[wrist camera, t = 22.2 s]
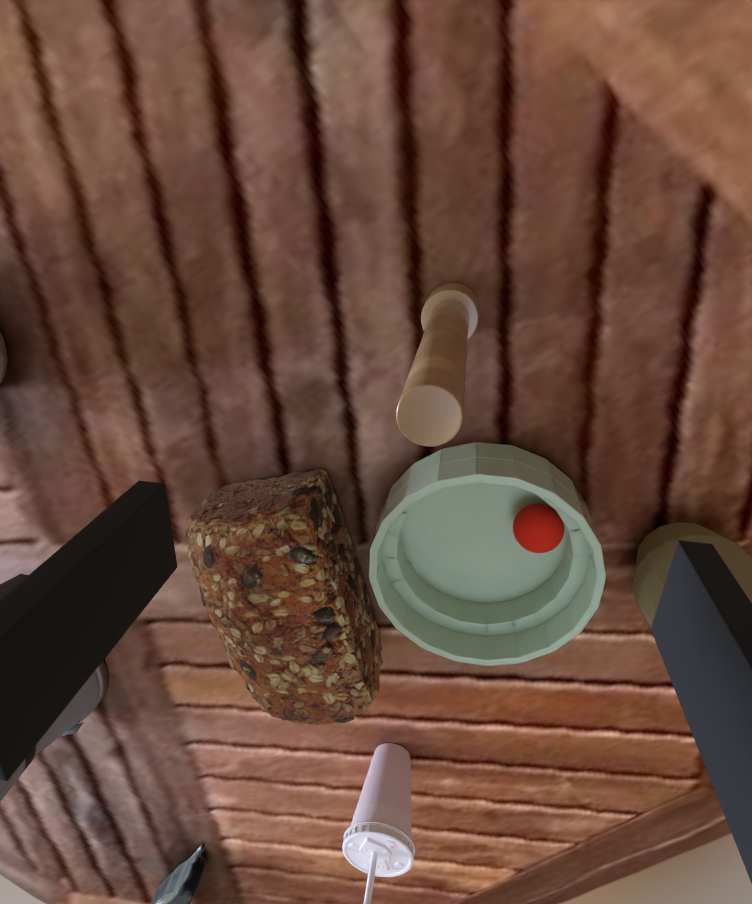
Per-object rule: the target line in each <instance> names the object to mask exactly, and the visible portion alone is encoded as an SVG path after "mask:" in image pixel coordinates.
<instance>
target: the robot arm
mask: <svg viewBox="0 0 752 904" xmlns="http://www.w3.org/2000/svg"><path fill="white" fill-rule="evenodd" d="M176 568H177V561H176V554H175V548H174V541H173V534H172V527H171V520H170V514H169V507H168V500H167V493H166V486H165V484H163V483H154V482H145V481H138V482H137V483H136V484H134V485H133V486H132V487H131V488H130V489H129V490H127V491H126V492H125V493H124V494H123V495H122V496H121V497H119V498H118V499H117V500H116V501H115V502H114V503H112V504H111V505H110V506H109V507H108V508H107V509H105V510H104V511H103V512H102V513H101V514H100V515H98V516H97V517H96V518H95V519H94V520H93V521H91V522H90V523H89V524H88V525H87V526H86V527H85V528H83V529H82V530H81V531H80V532H79V533H78V534H76V535H75V536H74V537H73V538H72V539H71V540H69V541H68V542H67V543H66V544H65V545H64V546H62V547H61V548H60V549H59V550H58V551H57V552H56V553H54V554H53V555H52V556H51V557H50V558H49V559H47V560H46V561H45V562H44V563H43V564H42V565H40V566H39V567H38V568H37V569H36V570H35V571H33V572H32V573H31V574H30V575H24V574H20V575H18V576H16V577H14V578H12V579H10V580H8V581H6V582H4V583H2V584H0V802H1V800H2V799H3V798H4V796H5V795H6V794H7V793H8V791H9V790H10V789H11V787H12V786H13V785H14V783H15V782H16V781H17V779H18V778H19V777H20V776H21V774H22V773H23V772H24V770H25V769H26V768H27V767H28V765H29V764H30V763H31V761H32V760H33V759H34V758H35V756H36V755H37V754H38V753H39V752H40V751H42V750H43V749H44V748H46V747H47V746H48V745H49V744H51V743H52V742H53V741H55V740H56V739H57V738H58V737H60V736H62V735H67V734H73V733H76V732H77V731H78V729H79V728H80V727H81V725H82V724H83V723H80V724H78V723H79V722H81V721H82V720H84V719H85V718H86V717H87V716H88V715H89V714H90V713H91V712H92V711H93V710H94V709H95V707H96V706H97V705H98V703H99V702H100V701H101V699H102V698H103V696H104V695H105V692H106V690H107V686H108V675H107V670H106V666H105V664H104V661H103V660H104V659H105V657H106V656H107V655H108V654H109V652H110V651H111V650H112V649H113V647H114V646H115V645H116V644H117V642H118V641H119V640H120V639H121V637H122V636H123V635H124V634H125V632H126V631H127V630H128V629H129V627H130V626H131V625H132V623H133V622H134V621H135V620H136V618H137V617H138V616H139V615H140V613H141V612H142V611H143V610H144V608H145V607H146V606H147V605H148V603H149V602H150V601H151V600H152V598H153V597H154V596H155V594H156V593H157V592H158V591H159V589H160V588H161V587H162V586H163V584H164V583H165V582H166V581H167V579H168V578H169V577H170V576H171V574H172V573H173V572H174V571H175V569H176ZM651 631H652V633H653V636H654V638H655V641H656V643H657V646H658V648H659V651H660V653H661V656H662V658H663V661H664V663H665V666H666V668H667V671H668V673H669V676H670V679H671V681H672V684H673V686H674V689H675V691H676V694H677V696H678V699H679V701H680V704H681V706H682V709H683V711H684V714H685V716H686V719H687V721H688V724H689V726H690V729H691V731H692V734H693V737H694V739H695V742H696V744H697V747H698V749H699V752H700V754H701V757H702V759H703V762H704V764H705V767H706V769H707V772H708V774H709V777H710V779H711V782H712V784H713V787H714V789H715V792H716V794H717V797H718V800H719V802H720V805H721V807H722V810H723V812H724V815H725V817H726V820H727V822H728V825H729V827H730V830H731V832H732V835H733V837H734V840H735V842H736V845H737V847H738V850H739V852H740V855H741V857H742V860H743V862H744V865H745V868H746V870H747V873H748V875H749V878H750V880H751V883H752V603H751V601H750V600H749V598H748V597H747V595H746V594H745V592H744V591H743V589H742V588H741V586H740V585H739V583H738V582H737V580H736V579H735V577H734V576H733V574H732V573H731V571H730V570H729V568H728V567H727V565H726V564H725V562H724V561H723V559H722V558H721V556H720V555H719V553H718V552H717V550H716V549H715V547H714V546H713V544H708V543H699V542H690V541H681V540H678V543H677V546H676V549H675V552H674V555H673V559H672V562H671V565H670V568H669V572H668V575H667V578H666V581H665V584H664V588H663V591H662V594H661V597H660V601H659V604H658V607H657V610H656V613H655V617H654V620H653V623H652V626H651Z"/></svg>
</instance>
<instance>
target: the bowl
mask: <svg viewBox="0 0 752 904" xmlns="http://www.w3.org/2000/svg"><path fill="white" fill-rule="evenodd" d="M535 503H540V504H545V505H548V506H550V507H552V508H553V509H555V510H556V511H557V513H558V515H559V516H560V518H561V520H562V521H563V523H564V535H563V538H562V540H561V542H560V543H559V545H558V546H557V547H556V548H554V549H553V550H551V551H549V552H546V553H533V552H530V551H528V550H526V549H524V548H523V547H522V546H521V545H520V544H519V543H518V542H517V540H516V538H515V536H514V533H513V522H514V519H515V516H516V515H517V513H518V512H519V511H520V510H521V509H522V508H524V507H525V506H527V505H530V504H535ZM369 580H370V583H371V586H372V589H373V591H374V594H375V597H376V600H377V603H378V605H379V607H380V609H381V610H382V611H383V612H384V614H385V615H386V616H387V618H388V619H389V620H390V621H391V623H392V624H393V625H394V627H395V628H396V629H397V630H398V631H399V632H400V633H402V634H403V635H405V636H406V637H407V638H409V639H410V640H411V641H413V642H414V643H416V644H417V645H418V646H420V647H421V648H422V649H425V650H427V651H430V652H432V653H435V654H437V655H440V656H442V657H445V658H447V659H450V660H452V661H457V662H464V663H470V664H477V665H484V666H493V665H504V664H515V663H523V662H526V661H529V660H532V659H535V658H537V657H540V656H543V655H546V654H549V653H552V652H553V651H555V650H557V649H558V648H560V647H561V646H563V645H564V644H565V643H567V642H568V641H570V640H571V639H572V638H574V637H575V636H577V635H578V634H579V633H580V632H581V631H582V630H583V628H584V627H585V626H586V624H587V623H588V621H589V620H590V619H591V617H592V616H593V615H594V613H595V612H596V610H597V609H598V607H599V604H600V600H601V596H602V592H603V588H604V584H605V580H606V572H605V566H604V559H603V553H602V547H601V544H600V541H599V538H598V535H597V532H596V530H595V527H594V524H593V521H592V518H591V515H590V512H589V510H588V507H587V505H586V503H585V502H584V500H583V498H582V497H581V495H580V493H579V492H578V490H577V488H576V486H575V485H574V483H573V481H571V479H570V478H569V477H567V476H566V475H565V474H564V473H562V472H561V471H560V470H559V469H558V468H556V467H555V466H554V465H553V464H552V463H550V462H549V461H548V460H547V459H545V458H543V457H540V456H538V455H535V454H533V453H530V452H528V451H525V450H523V449H520V448H518V447H515V446H512V445H502V444H491V443H481V442H477V443H476V442H475V443H469V444H464V445H459V446H454V447H449V448H444V449H441V450H439V451H437V452H435V453H433V454H431V455H429V456H427V457H425V458H424V459H422V460H420V461H418V462H416V463H414V464H413V465H412V466H411V467H410V468H409V469H408V470H407V471H406V472H405V473H404V474H403V475H402V476H401V477H400V478H399V479H398V481H397V482H396V483H395V484H394V485H393V486H392V487H391V489H390V492H389V494H388V496H387V499H386V501H385V503H384V506H383V508H382V510H381V513H380V516H379V520H378V523H377V526H376V530H375V533H374V536H373V540H372V543H371V546H370V555H369Z"/></svg>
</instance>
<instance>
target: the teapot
mask: <svg viewBox="0 0 752 904" xmlns="http://www.w3.org/2000/svg"><path fill="white" fill-rule="evenodd" d="M7 362H8V357H7V349H6V345H5V341H4V339H3V336H2V334H1V332H0V383H1V381H2V380H3V378H4V376H5V373H6V369H7Z"/></svg>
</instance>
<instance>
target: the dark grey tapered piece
mask: <svg viewBox="0 0 752 904" xmlns="http://www.w3.org/2000/svg"><path fill="white" fill-rule="evenodd" d="M204 849H205V845H204V844H202V845H200V847H199V848H198V849H197V851H196V852H195V853H194V854H193V855H192V856H191V857H190V858H189V859H188V860H187V861H185V862H183V863H182V864H180V865H179V866H178V867H177V868H176V869H175V870H174V871H173V872H172V873H171V874H170V875H169V876H168V877H167V878H166V879H165V880H164V881H163V883H162V884H161V885H160V887H159V888H158V890H157V892H156V894H155V896H154V898H153V901H152V903H151V904H190V902H191V901H192V899H193V897H194V895H195V893H196V890H197V888H198V886H199V883H200V881H201V878H202V876H203V873H204V870H205V868H206V864H207V861H206V859H205V858H203V857H202V856H201V853H202V851H203V850H204Z"/></svg>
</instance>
